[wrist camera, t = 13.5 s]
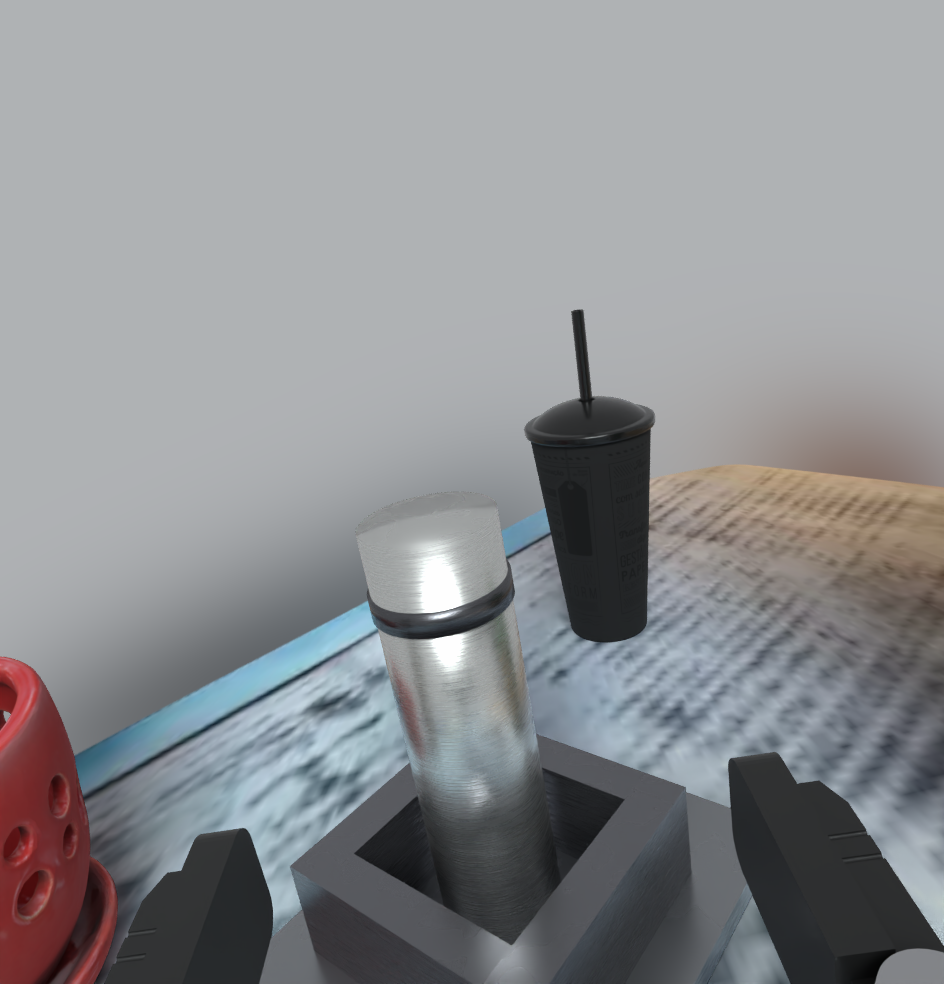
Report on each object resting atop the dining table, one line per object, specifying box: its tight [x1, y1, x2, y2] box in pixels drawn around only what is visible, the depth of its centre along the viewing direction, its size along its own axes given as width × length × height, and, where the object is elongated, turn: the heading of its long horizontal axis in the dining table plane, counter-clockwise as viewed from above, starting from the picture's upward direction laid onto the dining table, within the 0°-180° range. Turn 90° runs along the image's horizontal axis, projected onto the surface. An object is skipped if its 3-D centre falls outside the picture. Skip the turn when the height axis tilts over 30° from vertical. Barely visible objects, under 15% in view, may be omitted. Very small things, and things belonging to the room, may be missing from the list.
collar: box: [259, 734, 752, 984], centre depth 28 cm, size 18×14×5 cm
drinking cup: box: [524, 310, 655, 642], centre depth 47 cm, size 8×8×20 cm
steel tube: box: [356, 492, 561, 945], centre depth 26 cm, size 5×5×16 cm
